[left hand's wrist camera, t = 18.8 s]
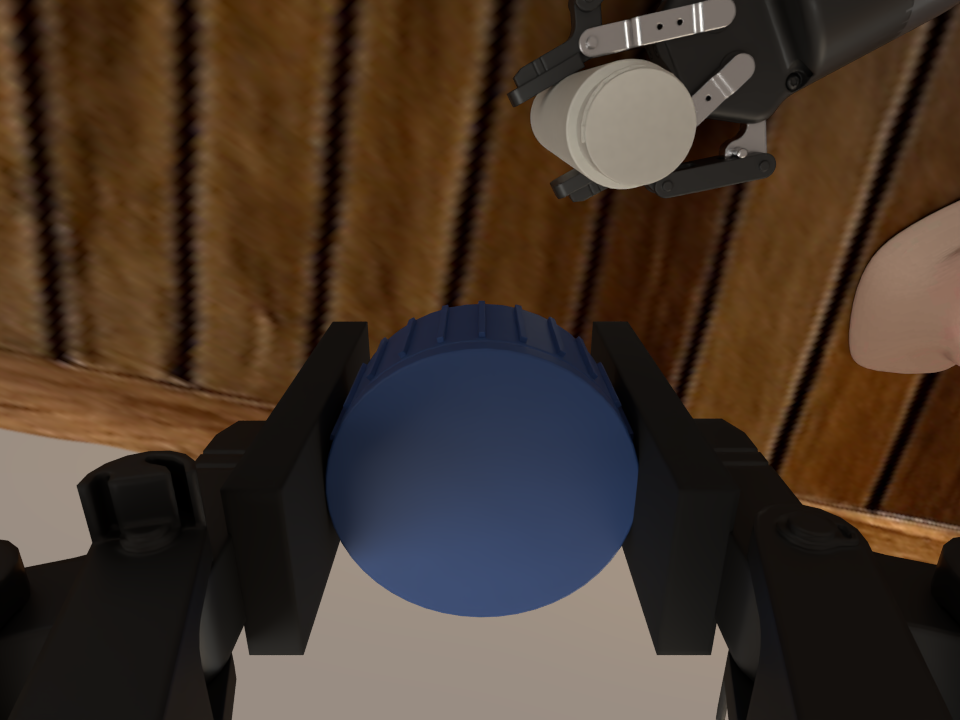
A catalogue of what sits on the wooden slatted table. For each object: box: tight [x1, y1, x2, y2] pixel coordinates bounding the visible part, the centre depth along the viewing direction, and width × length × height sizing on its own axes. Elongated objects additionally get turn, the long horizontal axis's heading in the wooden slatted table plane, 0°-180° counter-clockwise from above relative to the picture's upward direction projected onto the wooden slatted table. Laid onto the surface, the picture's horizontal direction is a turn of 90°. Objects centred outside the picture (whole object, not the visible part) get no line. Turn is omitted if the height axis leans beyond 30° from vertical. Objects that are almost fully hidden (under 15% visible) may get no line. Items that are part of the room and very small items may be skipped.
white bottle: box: [531, 59, 696, 189], centre depth 29 cm, size 4×4×19 cm
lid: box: [325, 301, 639, 617], centre depth 11 cm, size 5×5×2 cm
